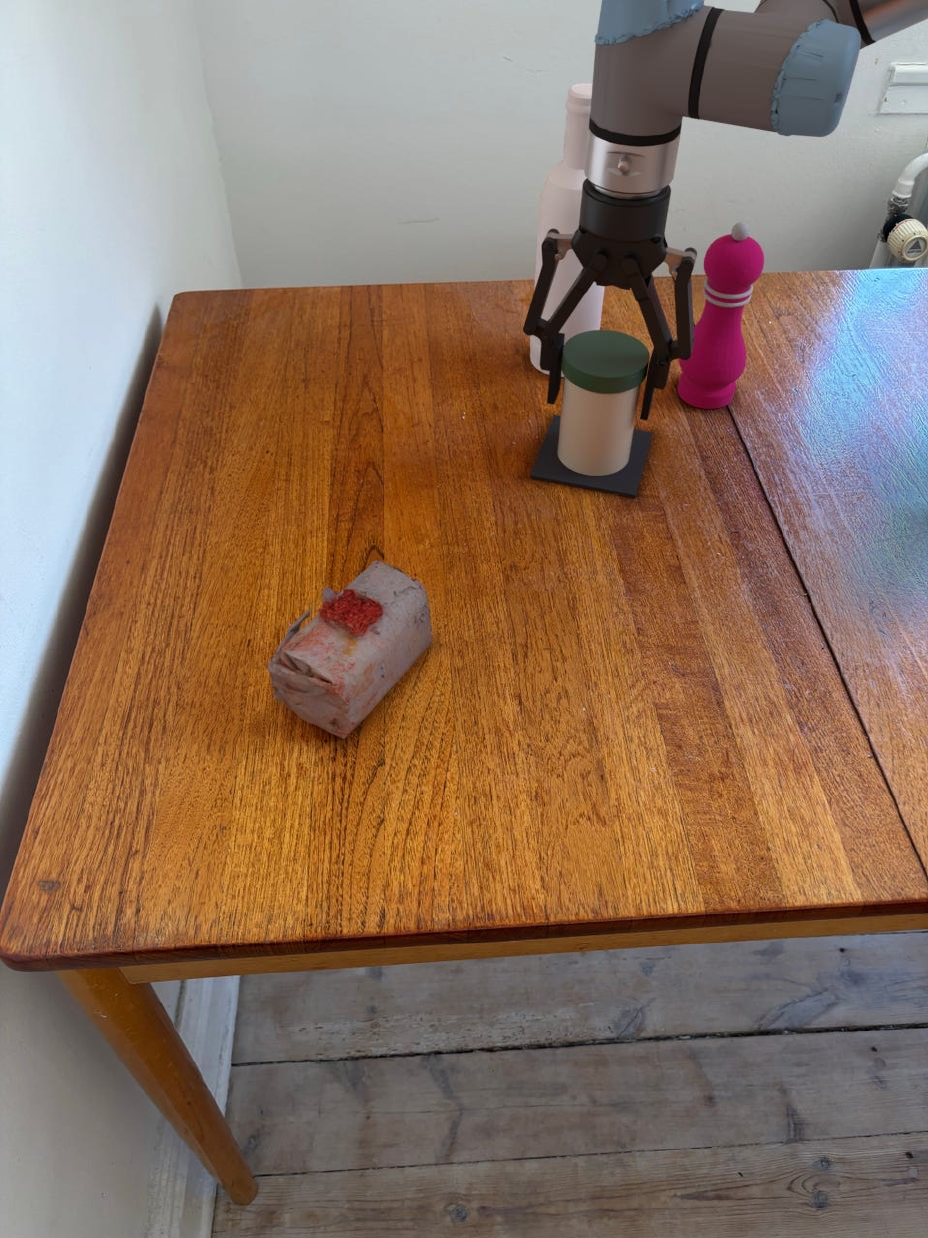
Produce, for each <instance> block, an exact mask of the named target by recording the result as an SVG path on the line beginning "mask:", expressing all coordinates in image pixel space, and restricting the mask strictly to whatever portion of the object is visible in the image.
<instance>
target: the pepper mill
mask: <svg viewBox="0 0 928 1238" xmlns="http://www.w3.org/2000/svg"><path fill="white" fill-rule="evenodd" d="M750 232H751V231H750V226H749V225H748V224H747V223H746V222H742V221H740V222H736V223H735V224H734V225H732V228H731V229H730V234H724V235H722V236H720V237H718V238H716V239H715V240H714V241H713V242H712V243H710V244H709V247H707V250H706V251H705V255H704V258H703V271H704V274H705V276H706V277H707V278H705V280H704V282H703V285H704V287H703V289H702V295H703V297H704V299H705V302H704V307H703V311H702V314H701V316H700V318H699V320H698V321H697V323H696V324H695V326H694V345H693V350H692V353H691V357H690V358H689V359H688V360H682V359H680V358H679V360H678V364H679V367H680V370H681V371H682V373H681V374H680V376H679V380H678V386H677V394H678V395H679V398H680V399H682V400H683V402H685V403H686V404H688V405H690V406H692V407H695V408H698V409H702V410H703V409H705V410H717V409H721V408H723V407H726V406H728V405H729V404H730V403H732V401H733V398H734V396H735V391H736V388H737V383H736V381H737V380H739V378H740V377H741V376H742V375H743V373H744V371H745V369H746V364H747V347H746V343H745V339H744V336H743V332H742V319H743V312H744V309H745V305H747V304H748V303H749V302H750V301H751V299H752V293H753V291H754V285H753V284H754V283H756V282H757V280H758V279H759V278H760V277H761V275H762V273H763V270H764V267H765V255H764V251H763V248H762V246H761V245H760V244H759V242H757V241H756V240H755V238H752V237H750V236H749V235H750Z"/></svg>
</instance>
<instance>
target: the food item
mask: <svg viewBox="0 0 928 1238" xmlns="http://www.w3.org/2000/svg"><path fill="white" fill-rule="evenodd" d="M321 595H322V599H321V601H320V602H321V603H322V607H321V608H318V609H317V611H318V612H317V613H316V614H315V615H314V616H313V617H312V619H311V620H310V621H309V622H308V623H307V624H305V625H304V626H303V627H302V628H301V626H302V623H303V622H304V621H305V620H306V619H308V618H309V617H310V614H311V611H312V609H313V608H314V606H315V604H314V605H312V606H310V607H309V608H308V610H306V611H305V612H304V613H303V614H302V615H301V616H300V617H299V618H298V619H297V620H296V621H294V623H293V624H292V625H291V626H290V627H288V630H287V632H286V634H285V636H284V638H283V640H282V641H281V643H280V644H279V645H278V647H277V648H276V651H275V653H274V656H273V658H269V662H268V665H267V670H268V673H269V676H270V681H271V686H273V692H272V693H273V698H274V699H275V701H278V702H280V703H282V704H283V705H284V706H285V707H286V708H287V709H288V710H291V711H292V712H293V713H295V715H297V717H298V718H300V719H301V720H303V721H304V722H306V723H308V724H311V725H315V726H316V727H318V728H320V729H322V730H324V731H325V732H327V733H329V734H332V735H334V736H336V737H339V738H341V739H343V740H344V739H346V738H348V736H349V735H350V734H351V733H352V732H353V731H354V730H355V729H356V728H357V727H358V726H359V725H360V724H361V723H362V722H363V721H364V720H365V719H366V718H367V716H369V715H370V713H371V712H372V711H373V710H374V709H375V708H376V706H377V705H378V704H379V703H380V702H381V700H382V699H383V698H384V697H385V696H386V695H387V694H388V693H389V691H390V690H391V689H392V688H393V687H395V686H396V684H397V683H398V682H400V680H401V679H402V678H403V677H404V675H406V673H407V672H408V671H409V670H410V669H411V668H412V666H413V665H414V664H415V663H416V661H418V660H419V658H420V657H421V655H423V654H424V653H425V651H426V650H427V649H428V648H429V647H430V646H431V645H432V643H433V642H434V638H432V632H433V628H432V621H431V619H432V618H431V609H430V605H429V595H428V593H427V590H426V587H425V585H424V584H423V583H422V582H421V581H420V580H419V578H413V577H410V576H409V575H408V574H407V573H405V572H404V571H403V570H401V569H400V568H398V567H396V566H393V565H391V564H388V563H387V562H385V561H381V560H373V561H372V562H371V563H370V565H369V566H368V567H367V568H366V569H364V570H363V571H362V572H361V573H359V575H357V576H356V577H355V578H354V579H353V580H352V581H350V583H348V584H347V585H346V586H345V587H344V588H343V589H342V590H341V591H340V592H339V591H338V590H333V589H332V588H331V587H328V586H325V587H324V589H323V590H322V593H321ZM300 628H301V629H300Z"/></svg>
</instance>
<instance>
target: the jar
mask: <svg viewBox="0 0 928 1238" xmlns="http://www.w3.org/2000/svg"><path fill="white" fill-rule="evenodd" d="M641 388H642V383H641V384H640V385H639V386H637V387H635V388H633V389H631V390H628V391H625V392H620V393H598V392H592V391H588V390H585V389H582V388H580V387H578V386H576V385H574V384H573V383H571V382H570V381H569V380H568V379H567V378H566V377H565V376H564V377H563V387H562V396H561V406H560V415H559V416H560V427H559V438H558V448H557V453H558V457H559V459H560V461H561V462H562V463H563V464H564V465H565V466H566V467H567V468H569V469H571V470H572V471H575V472H577V473H580V474H584V475H589V476H604V475H610V474H613V473H616V472H618V471H620V470H621V469H622V468H624V467H625V466H626V464H627V463H628V461H629V457H630V451H631V445H632V438H633V432H634V429H635V424H636V418H637V413H638V407H639V400H640V394H641V390H642V389H641Z"/></svg>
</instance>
